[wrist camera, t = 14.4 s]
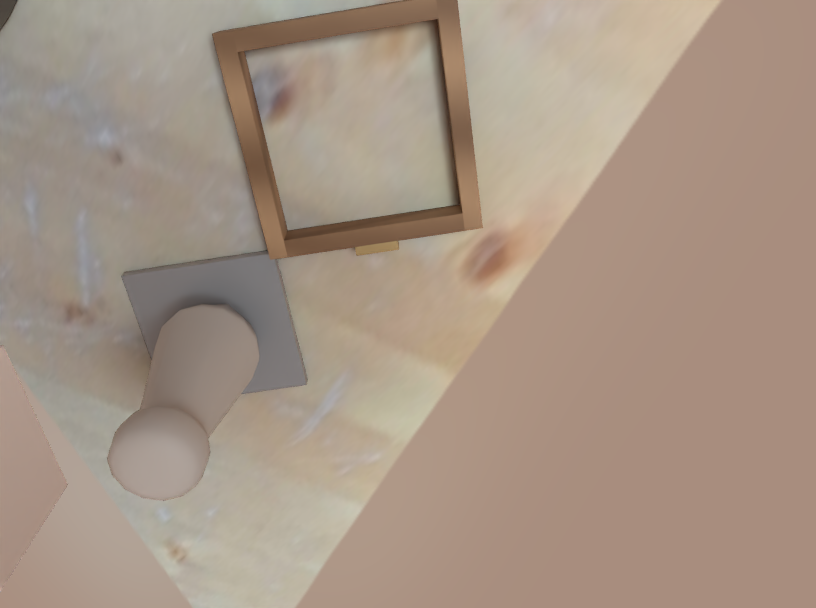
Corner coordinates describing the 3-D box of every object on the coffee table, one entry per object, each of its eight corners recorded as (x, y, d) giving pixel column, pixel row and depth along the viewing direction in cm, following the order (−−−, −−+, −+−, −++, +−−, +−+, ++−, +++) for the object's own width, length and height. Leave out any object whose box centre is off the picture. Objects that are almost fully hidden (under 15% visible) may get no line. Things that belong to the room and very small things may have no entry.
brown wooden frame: (219, 31, 35) (212, 33, 34) (454, -9, 35) (456, -8, 33) (276, 258, 41) (272, 269, 39) (480, 228, 40) (483, 238, 39)
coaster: (124, 272, 41) (121, 276, 40) (274, 249, 41) (272, 253, 40) (170, 399, 45) (167, 404, 44) (307, 379, 44) (306, 384, 44)
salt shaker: (191, 383, 44) (117, 535, 32) (153, 303, 41) (57, 436, 30) (279, 360, 43) (237, 506, 31) (245, 278, 41) (186, 404, 29)
